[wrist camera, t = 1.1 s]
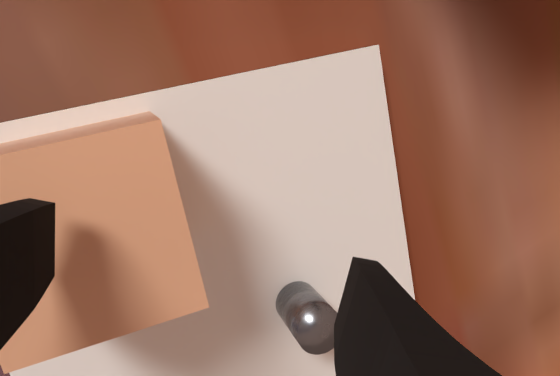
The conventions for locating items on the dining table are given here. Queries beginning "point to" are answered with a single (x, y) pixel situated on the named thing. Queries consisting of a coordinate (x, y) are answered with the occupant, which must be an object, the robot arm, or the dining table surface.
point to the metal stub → (307, 317)
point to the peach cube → (103, 235)
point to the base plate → (258, 210)
